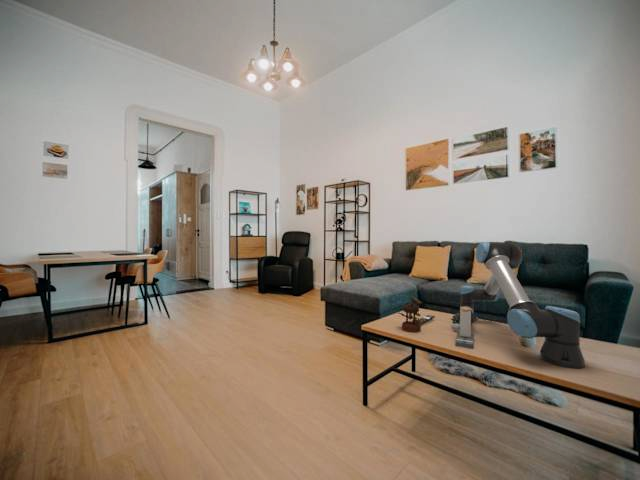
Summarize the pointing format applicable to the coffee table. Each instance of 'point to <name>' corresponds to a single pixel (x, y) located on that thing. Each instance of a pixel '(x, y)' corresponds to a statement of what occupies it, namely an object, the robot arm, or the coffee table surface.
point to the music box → (410, 308)
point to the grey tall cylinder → (465, 321)
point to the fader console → (464, 341)
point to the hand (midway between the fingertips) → (464, 323)
